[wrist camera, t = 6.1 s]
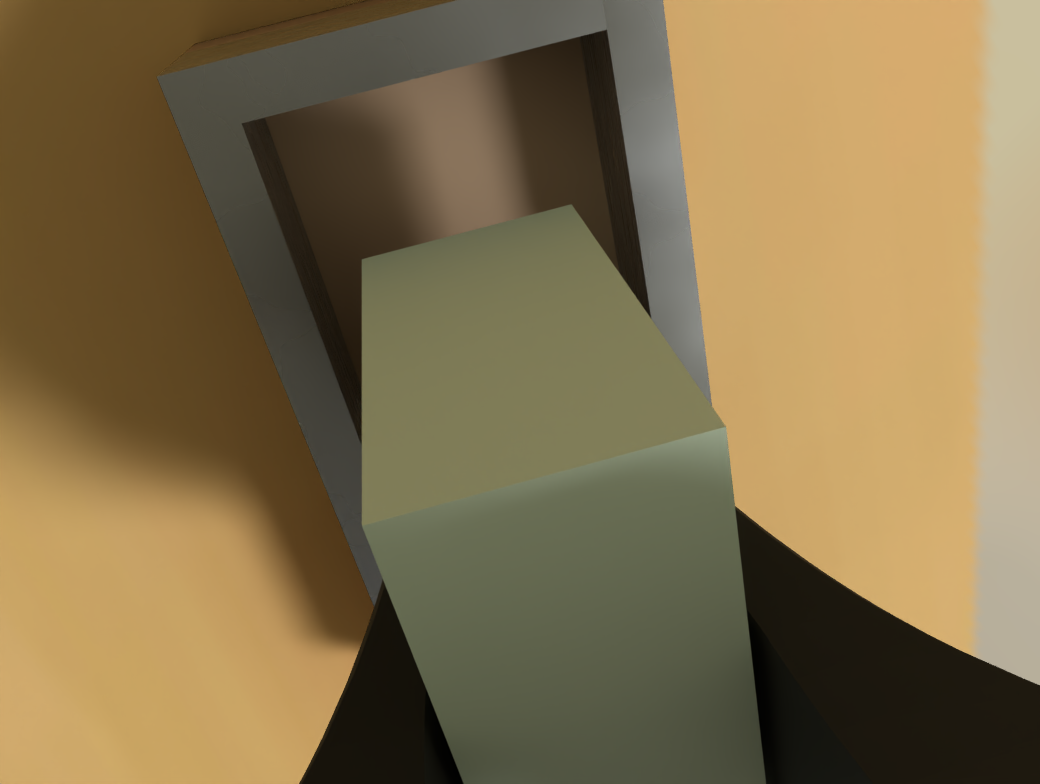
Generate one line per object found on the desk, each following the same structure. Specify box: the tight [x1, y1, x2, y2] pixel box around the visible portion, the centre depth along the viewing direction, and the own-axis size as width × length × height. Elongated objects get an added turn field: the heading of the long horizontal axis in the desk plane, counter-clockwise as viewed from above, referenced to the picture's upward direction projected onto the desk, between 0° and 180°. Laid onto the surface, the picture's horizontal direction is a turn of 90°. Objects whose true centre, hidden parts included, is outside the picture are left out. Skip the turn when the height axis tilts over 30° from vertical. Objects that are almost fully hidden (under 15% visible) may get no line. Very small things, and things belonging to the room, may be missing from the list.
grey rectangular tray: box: [157, 0, 712, 607], centre depth 16 cm, size 14×7×3 cm, turn 13°
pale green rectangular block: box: [362, 204, 766, 784], centre depth 12 cm, size 8×3×6 cm, turn 12°
